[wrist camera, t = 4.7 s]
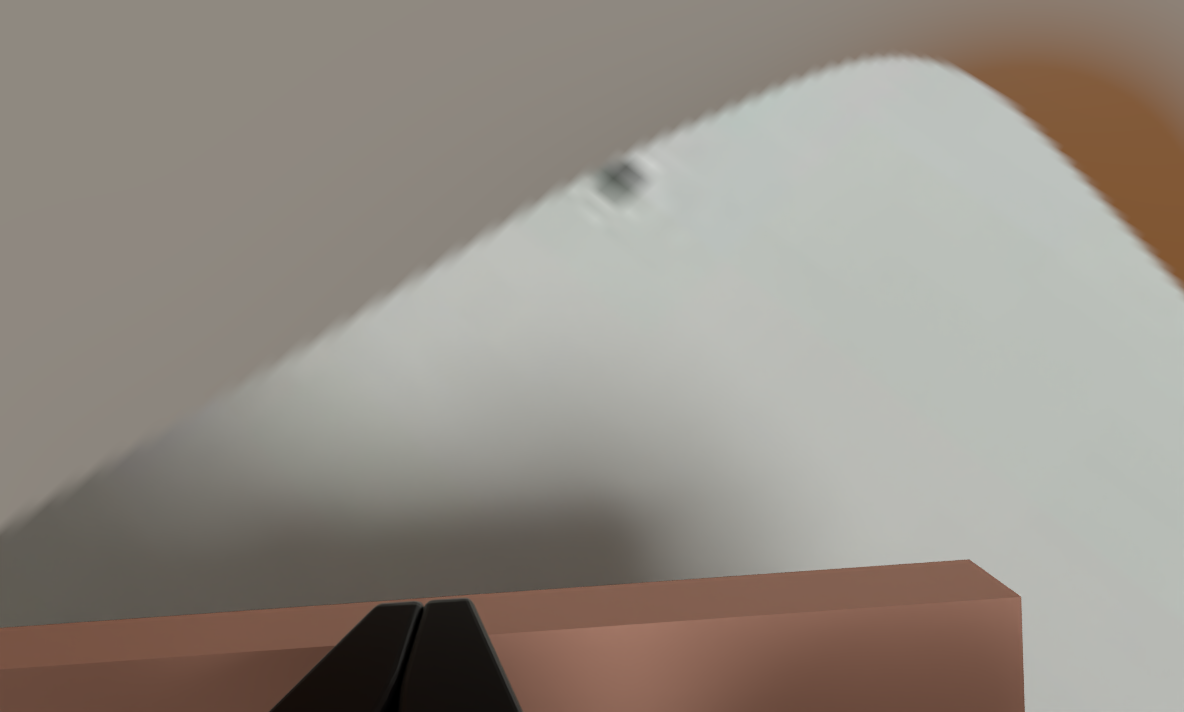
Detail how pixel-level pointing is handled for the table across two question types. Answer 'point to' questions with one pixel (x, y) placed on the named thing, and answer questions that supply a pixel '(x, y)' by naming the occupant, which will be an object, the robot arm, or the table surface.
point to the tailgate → (586, 648)
